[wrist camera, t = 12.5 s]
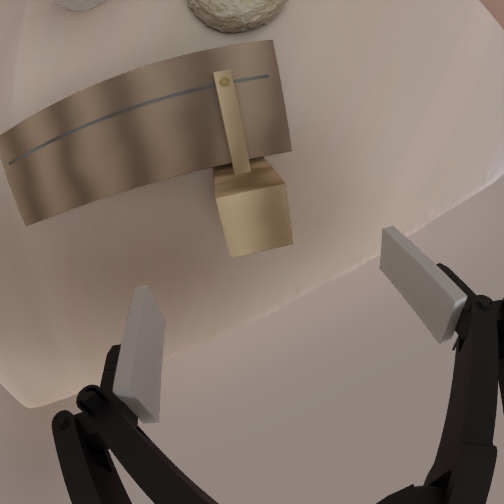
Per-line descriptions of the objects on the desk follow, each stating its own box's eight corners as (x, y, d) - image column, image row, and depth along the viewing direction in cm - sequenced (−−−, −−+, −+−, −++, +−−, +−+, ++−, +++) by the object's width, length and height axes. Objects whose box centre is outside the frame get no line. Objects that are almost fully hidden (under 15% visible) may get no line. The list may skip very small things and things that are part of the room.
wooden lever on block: (223, 209, 32) (230, 258, 23) (194, 80, 24) (186, 72, 16) (269, 199, 32) (293, 244, 23) (245, 70, 24) (263, 58, 16)
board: (35, 217, 28) (25, 226, 26) (7, 134, 22) (-6, 139, 20) (285, 146, 29) (292, 151, 27) (267, 44, 23) (272, 39, 21)
